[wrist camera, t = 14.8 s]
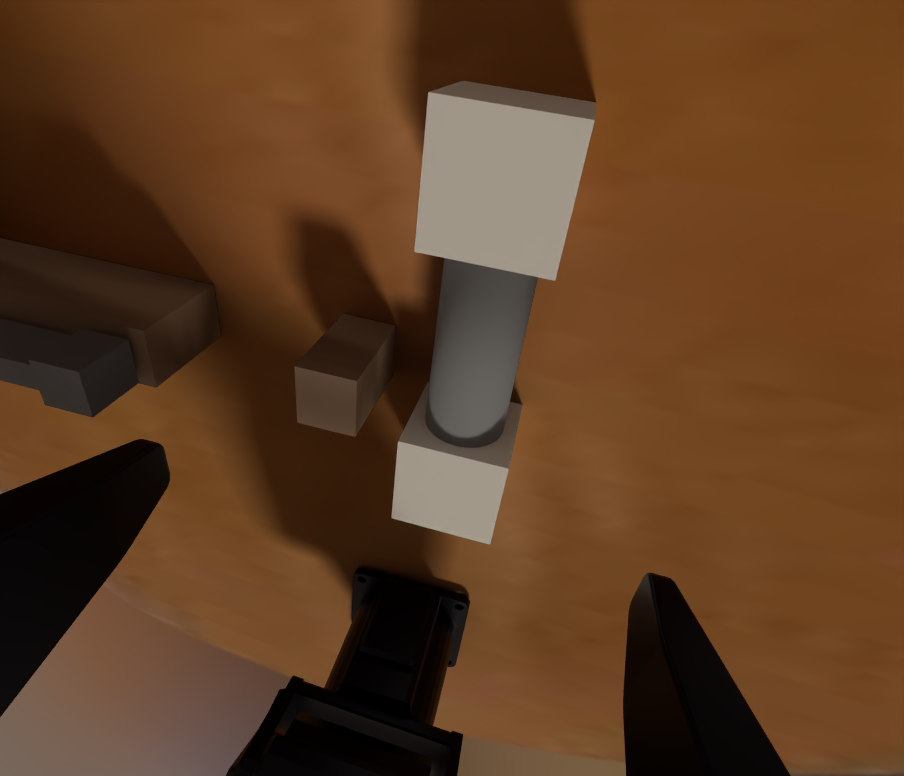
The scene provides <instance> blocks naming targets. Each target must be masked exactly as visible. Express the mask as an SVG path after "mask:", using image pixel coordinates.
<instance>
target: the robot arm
mask: <svg viewBox="0 0 904 776" xmlns="http://www.w3.org/2000/svg"><path fill="white" fill-rule="evenodd" d="M169 481H170V471H169V467H168V463H167V459H166V455H165V450H164V448H163V446H162V445H161V444H159V443H156V442H152V441H148V440H144V439H138V440H135V441H132V442H130V443H127V444H125V445H122V446H120V447H117V448H115V449H112V450H110V451H107V452H105V453H102V454H100V455H97V456H95V457H92V458H90V459H87V460H85V461H82V462H80V463H77V464H75V465H72V466H70V467H67V468H65V469H62V470H60V471H57V472H55V473H52V474H50V475H47V476H45V477H42V478H40V479H37V480H35V481H32V482H30V483H27V484H25V485H22V486H20V487H17V488H15V489H12V490H10V491H7V492H5V493H2V494H0V717H1V716H2V714H3V713H4V712H5V710H6V709H7V708H8V706H9V705H10V704H11V703H12V701H13V700H14V698H15V697H16V696H17V695H18V693H19V692H20V691H21V690H22V688H23V687H24V686H25V684H26V683H27V682H28V681H29V679H30V678H31V677H32V675H33V674H34V673H35V671H36V670H37V669H38V668H39V666H40V665H41V664H42V662H43V661H44V660H45V658H46V657H47V656H48V655H49V653H50V652H51V651H52V649H53V648H54V647H55V646H56V644H57V643H58V642H59V640H60V639H61V638H62V636H63V635H64V634H65V633H66V631H67V630H68V629H69V627H70V626H71V625H72V623H73V622H74V621H75V619H76V618H77V617H78V616H79V614H80V613H81V612H82V611H83V609H84V608H85V607H86V605H87V604H88V603H89V601H90V600H91V599H92V598H93V596H94V595H95V594H96V592H97V591H98V590H99V588H100V587H101V586H102V585H103V583H104V582H105V581H106V579H107V578H108V577H109V576H110V574H111V573H112V572H113V570H114V569H115V568H116V566H117V565H118V564H119V562H120V561H121V560H122V558H123V557H124V555H125V554H126V552H127V551H128V549H129V548H130V546H131V545H132V543H133V542H134V540H135V538H136V537H137V535H138V534H139V532H140V530H141V529H142V527H143V526H144V524H145V522H146V521H147V519H148V518H149V516H150V514H151V513H152V511H153V510H154V508H155V506H156V505H157V503H158V502H159V500H160V498H161V497H162V495H163V494H164V492H165V490H166V489H167V487H168V484H169ZM469 605H470V601H469V599H468V598H467V597H465V596H463V595H459V594H456V593H452V592H449V591H445V590H442V589H438V588H434V587H431V586H427V585H424V584H420V583H416V582H413V581H409V580H406V579H402V578H398V577H395V576H391V575H388V574H384V573H381V572H377V571H373V570H370V569H366V568H358V569H357V570H356V572H355V574H354V576H353V601H352V624H351V626H350V628H349V631H348V633H347V635H346V638H345V640H344V642H343V645H342V647H341V649H340V652H339V654H338V657H337V659H336V661H335V664H334V666H333V668H332V671H331V673H330V675H329V678H328V680H327V683H326V685H325V687H324V688H322V687H319V686H316V685H313V684H310V683H308V682H305V681H304V679H302V678H300V677H297V676H294V675H293V676H292V678H291V680H290V682H289V683H288V685H287V687H286V688H285V689H280V690H279V692H278V694H277V696H276V698H275V700H274V702H273V704H272V706H271V708H270V710H269V712H268V714H267V715H266V717H265V719H264V721H263V722H262V724H261V726H260V727H259V729H258V730H257V732H256V733H255V735H254V736H253V737H252V739H251V740H250V741H249V743H248V744H247V745H246V747H245V748H244V750H243V751H242V752H241V753H240V755H239V756H238V758H237V759H236V760H235V762H234V763H233V764H232V766H231V767H230V769H229V771H228V772H227V774H226V776H457V772H458V766H459V759H460V752H461V745H462V739H463V734H461V733H458V732H455V731H452V732H449V731H446V730H443V729H440V728H437V727H434V726H433V724H434V720H435V716H436V712H437V707H438V703H439V699H440V695H441V691H442V687H443V683H444V679H445V675H446V671H447V667H453V666H455V665H456V661H457V656H458V652H459V648H460V643H461V639H462V635H463V631H464V626H465V622H466V618H467V614H468V609H469ZM623 719H624V740H625V760H626V776H791V775H790V774H789V772H788V770H787V769H786V767H785V765H784V764H783V762H782V760H781V759H780V757H779V755H778V754H777V752H776V750H775V749H774V747H773V745H772V744H771V742H770V740H769V739H768V737H767V735H766V734H765V732H764V730H763V729H762V727H761V725H760V724H759V722H758V720H757V719H756V717H755V715H754V714H753V712H752V710H751V709H750V707H749V705H748V704H747V702H746V700H745V699H744V697H743V695H742V694H741V692H740V690H739V689H738V687H737V685H736V684H735V682H734V680H733V679H732V677H731V675H730V674H729V672H728V670H727V669H726V667H725V665H724V664H723V662H722V660H721V659H720V657H719V655H718V654H717V652H716V650H715V649H714V647H713V645H712V644H711V642H710V640H709V639H708V637H707V635H706V634H705V632H704V630H703V629H702V627H701V625H700V624H699V622H698V620H697V619H696V617H695V615H694V614H693V612H692V610H691V609H690V607H689V605H688V604H687V602H686V600H685V599H684V597H683V595H682V594H681V592H680V590H679V589H678V587H677V585H676V584H675V582H674V581H673V580H672V579H671V578H668V577H665V576H661V575H657V574H654V573H647V574H646V575H645V576H644V577H643V579H642V581H641V583H640V585H639V587H638V589H637V591H636V593H635V595H634V597H633V598H632V601H631V604H630V608H629V615H628V630H627V646H626V661H625V677H624V695H623Z"/></svg>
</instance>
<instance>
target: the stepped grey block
mask: <svg viewBox="0 0 904 776" xmlns="http://www.w3.org/2000/svg"><path fill="white" fill-rule="evenodd" d="M0 380H2V381H5V382H9V383H13V384H17V385H21V386H25V387H29V388H33V389H37V390H40V393H41V395H42V398H43V401H44V403H45V405H47V406H51V407H55V408H59V409H63V410H66V411H70V412H74V413H78V414H82V415H86V416H90V417H94V416H95V415H97V414H98V413H99V412H101V411H102V410H103V409H105V408H106V407H107V406H109V405H110V404H111V403H113V402H114V401H115V400H117V399H118V398H119V397H121V396H122V395H123V394H125V393H126V392H127V391H129V390H130V389H131V388H132V387H134V386H135V385H136V384H138V383H139V381H138V377H137V373H136V369H135V365H134V360H133V356H132V352H131V348H130V344H129V340H127V339H123V338H119V337H115V336H111V335H106V334H102V333H98V332H94V331H90V330H85V329H81V330H79V331H77V332H75V333H74V334H72V335H68V334H64V333H60V332H56V331H51V330H47V329H43V328H39V327H35V326H31V325H26V324H22V323H18V322H14V321H10V320H6V319H2V318H0Z"/></svg>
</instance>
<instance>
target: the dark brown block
mask: <svg viewBox="0 0 904 776" xmlns="http://www.w3.org/2000/svg"><path fill="white" fill-rule="evenodd" d="M0 318H2V319H6V320H10V321H14V322H18V323H22V324H26V325H31V326H35V327H39V328H43V329H47V330H51V331H56V332H60V333H64V334H68V335H72V334H74V333H75V332H77V331H79V330H81V329H85V330H90V331H94V332H98V333H102V334H106V335H111V336H115V337H119V338H123V339H127V340H129V344H130V348H131V352H132V356H133V360H134V365H135V369H136V373H137V377H138V381H139V383H140V384H144V385H148V386H152V387H158V386H159V385H160V384H161V383H163V382H164V381H165V380H166V379H168V378H169V377H170V376H171V375H173V374H174V373H175V372H177V371H178V370H179V369H180V368H182V367H183V366H184V365H185V364H187V363H188V362H189V361H190V360H192V359H193V358H194V357H195V356H197V355H198V354H199V353H200V352H202V351H203V350H204V349H205V348H207V347H208V346H209V345H211V344H212V343H213V342H214V341H216V340H217V339H218V338H219V337H221V333H220V325H219V318H218V311H217V303H216V296H215V289H214V285H211V284H207V283H202V282H198V281H193V280H189V279H184V278H180V277H175V276H171V275H166V274H162V273H157V272H153V271H148V270H144V269H139V268H134V267H130V266H125V265H121V264H116V263H112V262H107V261H103V260H98V259H94V258H89V257H85V256H80V255H76V254H71V253H67V252H62V251H57V250H53V249H48V248H44V247H39V246H35V245H30V244H26V243H21V242H17V241H12V240H8V239H3V238H0ZM395 334H396V325H393V324H388V323H383V322H379V321H374V320H370V319H365V318H361V317H356V316H352V315H347V314H342V315H341V317H340V318H339V319H338V320H337V321H336V322H335V323H334V324H333V325H332V326H331V327H330V328H329V329H328V331H327V332H326V333H325V334H324V335H323V336H322V337H321V338H320V339H319V340H318V341H317V342H316V344H315V345H314V346H313V347H312V348H311V349H310V350H309V351H308V352H307V353H306V354H305V355H304V357H303V358H302V359H301V360H300V361H299V362H298V363H297V364H296V365H295V366H294V369H295V388H296V407H297V423H301V424H305V425H309V426H313V427H317V428H321V429H325V430H329V431H333V432H337V433H341V434H345V435H349V436H353V437H356V435H357V434H358V432H359V430H360V429H361V427H362V425H363V424H364V422H365V420H366V419H367V417H368V416H369V414H370V412H371V411H372V409H373V407H374V406H375V404H376V402H377V401H378V399H379V397H380V396H381V394H382V393H383V391H384V389H385V388H386V386H387V384H388V383H389V381H390V379H391V378H392V376H393V363H394V349H395Z"/></svg>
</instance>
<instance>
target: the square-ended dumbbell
mask: <svg viewBox="0 0 904 776" xmlns="http://www.w3.org/2000/svg"><path fill="white" fill-rule="evenodd" d="M595 111H596V102H590V101H584V100H578V99H572V98H566V97H560V96H554V95H548V94H541V93H535V92H529V91H523V90H517V89H511V88H505V87H499V86H493V85H487V84H481V83H475V82H468V81H460V82H457V83H454V84H451V85H448V86H445V87H442V88H439V89H436V90H433V91H430V92H428V102H427V113H426V125H425V136H424V148H423V159H422V171H421V182H420V194H419V205H418V217H417V228H416V240H415V251H414V252H418V253H423V254H428V255H433V256H437V257H442V258H444V265H443V274H442V282H441V290H440V299H439V307H438V315H437V324H436V332H435V340H434V349H433V357H432V365H431V374H430V382H429V383H427V385H426V387H425V389H424V391H423V393H422V394H421V396H420V398H419V400H418V402H417V404H416V406H415V408H414V410H413V412H412V414H411V416H410V418H409V420H408V422H407V424H406V426H405V428H404V430H403V432H402V434H401V436H400V438H399V440H398V448H397V459H396V471H395V482H394V494H393V505H392V517H391V518H392V519H396V520H400V521H404V522H407V523H411V524H415V525H419V526H422V527H426V528H430V529H433V530H437V531H441V532H445V533H448V534H452V535H456V536H460V537H463V538H467V539H471V540H475V541H478V542H482V543H486V544H489V545H490V543H491V539H492V534H493V530H494V526H495V522H496V518H497V514H498V510H499V506H500V502H501V498H502V494H503V490H504V486H505V482H506V478H507V474H508V470H509V465H510V460H511V456H512V451H513V446H514V442H515V437H516V433H517V428H518V423H519V419H520V414H521V409H522V404H517V403H513V402H510V398H511V394H512V390H513V385H514V381H515V376H516V372H517V368H518V363H519V359H520V354H521V350H522V346H523V341H524V337H525V332H526V328H527V323H528V319H529V315H530V310H531V306H532V301H533V297H534V293H535V288H536V284H537V279H538V277H540V278H544V279H549V280H554V281H555V279H556V275H557V271H558V267H559V263H560V259H561V255H562V251H563V247H564V242H565V238H566V234H567V230H568V226H569V222H570V218H571V214H572V210H573V206H574V202H575V198H576V194H577V190H578V186H579V182H580V178H581V174H582V169H583V165H584V161H585V157H586V153H587V149H588V145H589V141H590V137H591V133H592V129H593V125H594V121H595Z"/></svg>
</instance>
